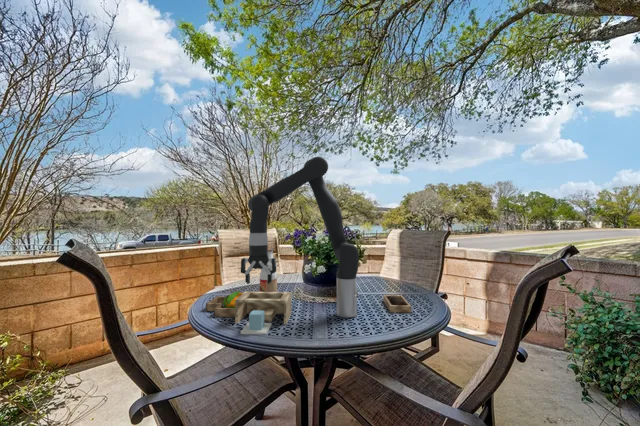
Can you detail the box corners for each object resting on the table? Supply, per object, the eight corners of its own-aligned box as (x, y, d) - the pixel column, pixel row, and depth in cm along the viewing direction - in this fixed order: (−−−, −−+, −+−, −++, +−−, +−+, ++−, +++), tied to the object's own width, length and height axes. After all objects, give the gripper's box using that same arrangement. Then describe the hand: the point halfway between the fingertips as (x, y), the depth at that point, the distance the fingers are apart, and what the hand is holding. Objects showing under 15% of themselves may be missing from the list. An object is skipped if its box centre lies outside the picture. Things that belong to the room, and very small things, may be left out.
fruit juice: (275, 302, 152) (275, 250, 153) (257, 302, 153) (257, 250, 153) (278, 298, 162) (278, 248, 162) (262, 297, 162) (262, 248, 163)
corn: (219, 296, 137) (235, 286, 157) (218, 312, 137) (234, 300, 157) (235, 297, 136) (248, 287, 156) (233, 313, 136) (247, 301, 156)
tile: (271, 325, 121) (271, 323, 121) (265, 334, 111) (265, 332, 111) (248, 324, 121) (248, 322, 121) (240, 334, 111) (240, 332, 111)
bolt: (390, 306, 153) (404, 314, 139) (382, 301, 153) (395, 309, 138) (395, 296, 154) (409, 303, 139) (387, 291, 153) (400, 298, 139)
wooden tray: (402, 301, 156) (402, 295, 156) (411, 312, 137) (411, 306, 137) (383, 300, 156) (383, 295, 156) (390, 312, 137) (390, 305, 137)
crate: (291, 313, 135) (291, 292, 136) (286, 324, 121) (286, 300, 122) (245, 312, 137) (245, 291, 137) (235, 323, 123) (235, 299, 123)
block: (264, 325, 118) (264, 310, 119) (261, 329, 113) (261, 314, 114) (252, 324, 119) (252, 310, 119) (249, 329, 114) (249, 314, 114)
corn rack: (272, 299, 158) (272, 293, 158) (258, 317, 130) (258, 309, 130) (222, 299, 160) (222, 292, 160) (198, 316, 132) (198, 308, 132)
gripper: (277, 242, 121) (277, 281, 121) (244, 243, 122) (244, 281, 121) (273, 244, 113) (274, 285, 113) (238, 244, 114) (238, 285, 114)
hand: (258, 283), depth 117 cm, fingers open, 8 cm apart
